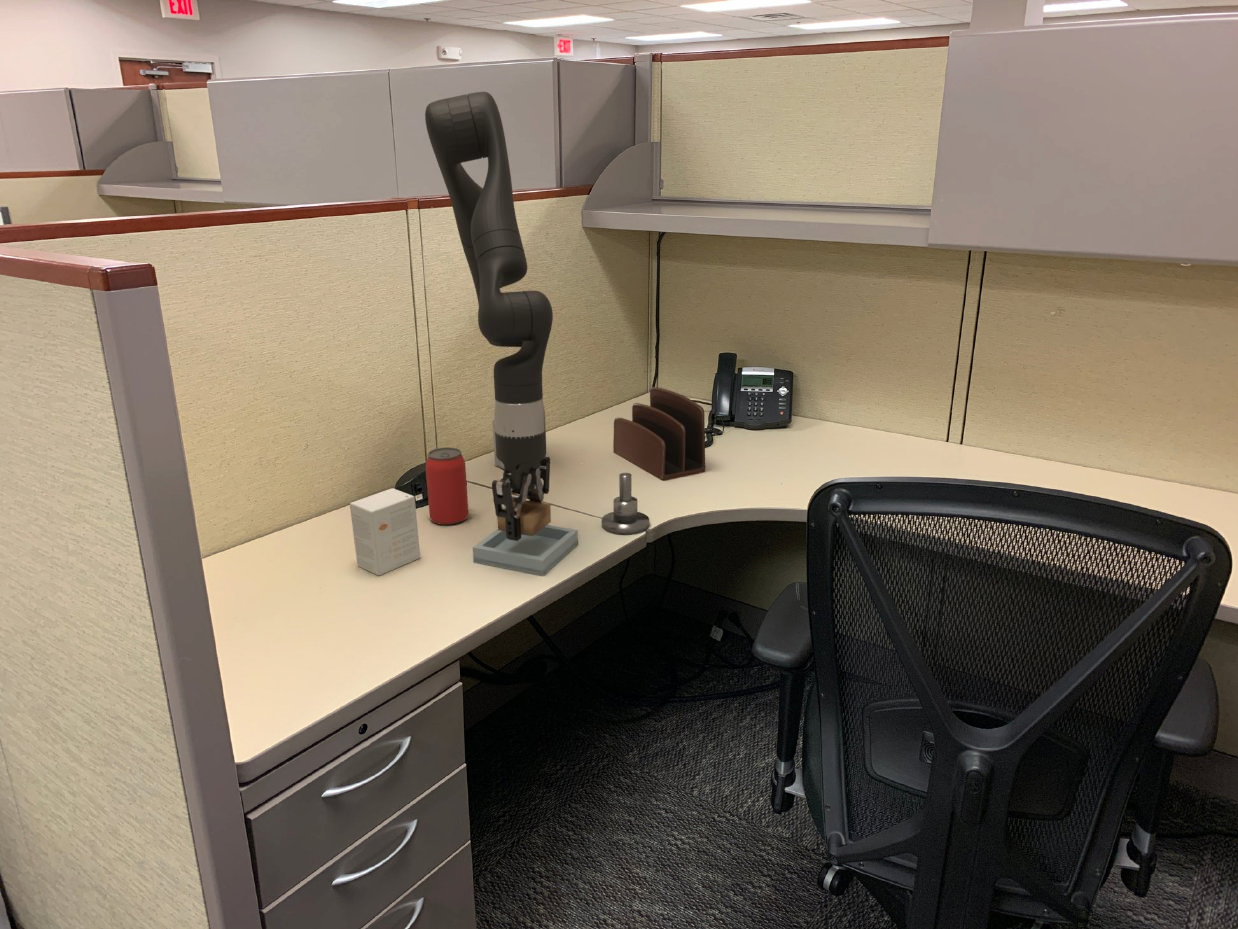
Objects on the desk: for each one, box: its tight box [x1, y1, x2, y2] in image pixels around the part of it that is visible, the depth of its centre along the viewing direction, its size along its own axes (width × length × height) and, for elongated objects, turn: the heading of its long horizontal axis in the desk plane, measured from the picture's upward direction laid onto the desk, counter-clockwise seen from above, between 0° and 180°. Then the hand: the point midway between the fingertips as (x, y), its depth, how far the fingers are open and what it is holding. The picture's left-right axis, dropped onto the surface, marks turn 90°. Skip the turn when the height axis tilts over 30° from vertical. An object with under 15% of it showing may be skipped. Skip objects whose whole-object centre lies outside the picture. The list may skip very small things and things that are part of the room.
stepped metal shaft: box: [601, 472, 650, 536], centre depth 145 cm, size 8×8×9 cm
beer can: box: [425, 446, 470, 526], centre depth 147 cm, size 7×7×12 cm
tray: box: [472, 524, 579, 577], centre depth 136 cm, size 12×12×2 cm
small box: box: [349, 487, 421, 576], centre depth 132 cm, size 8×6×10 cm
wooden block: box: [496, 499, 552, 536], centre depth 134 cm, size 6×6×3 cm
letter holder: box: [612, 386, 706, 481], centre depth 174 cm, size 10×20×14 cm, turn 29°
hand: (524, 531), depth 135 cm, fingers closed on wooden block, 6 cm apart
